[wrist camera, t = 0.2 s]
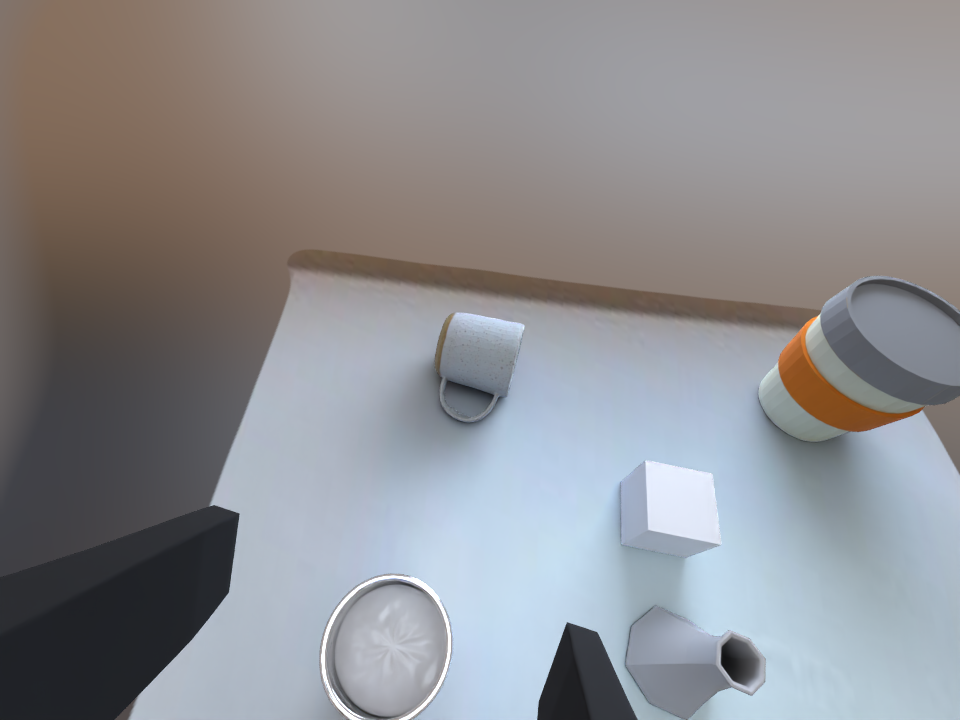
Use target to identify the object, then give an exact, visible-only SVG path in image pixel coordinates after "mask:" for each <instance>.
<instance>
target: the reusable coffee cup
mask: <svg viewBox="0 0 960 720" xmlns="http://www.w3.org/2000/svg"><path fill="white" fill-rule="evenodd" d="M758 395H759V401H760V403H761V406H762V408H763V410H764V411H765V413H766V415H767V416H768V417H769V418H770V420H771V421H772V422H773V423H774V424H775V425H776V426H777V427H779V428H780V429H781V430H783V431H784V432H785V433H787V434H789V435H791V436H793V437H795V438H798V439H800V440H804V441H808V442H820V441H825V440H827V439H830V438H833V437H836V436H839V435H842V434H845V433H848V432H851V431H853V432H861V431H867V430H871V429H874V428H877V427H880V426H883V425H886V424H889V423H892V422H895V421H898V420H901V419H904V418H907V417H910V416H913V415H915V414H917V413H919V412H920V411H921V410H922V409H923V408H924V407H925V406H927V405H938V404H945V403H947V402H949V401H951V400H953V399H955V398H957V397H958V396H960V311H959V310H958V309H957V308H956V307H954V306H953V305H952V304H950V303H949V302H947V301H946V300H944V299H943V298H941V297H940V296H938V295H936V294H935V293H933V292H931V291H929V290H927V289H925V288H923V287H921V286H918V285H916V284H914V283H911V282H908V281H905V280H902V279H898V278H893V277H887V276H869V277H865V278H862V279H858V280H857V281H856V282H854V283H853V284H851V285H850V286H848V287H847V288H845V289H844V290H843V291H841V292H840V293H838V294H837V295H835V296H834V297H832V298H831V299H830V300H828V301H827V302H826V303H825V305H824V306H823V308H822V311H821V314H820V315H819V316H817V317H814V318H812V319H811V320H810V321H808V322H807V323H806V324H805V325H804V327H803V328H802V329H801V330H800V331H799V332H798V334H797V335H796V336H795V337H794V338H793V339H792V340H791V342H790V343H789V344H788V345H787V346H786V347H785V349H784V350H783V351H782V353H781V354H780V357H779V360H778V363H777V364H776V365H775V366H774V367H773V368H772V370H771V371H770V372H769V373H768V374H767V375H766V376H765V378H764V379H763V380H762V381H761V383H760V386H759V391H758Z"/></svg>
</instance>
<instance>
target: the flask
mask: <svg viewBox="0 0 960 720" xmlns="http://www.w3.org/2000/svg"><path fill="white" fill-rule="evenodd" d="M765 662H766V659H765V657H764V656H763V655H762V654H761V652H760V651H759V650H758V648H757V647H756V646H755V645H754V643H753V642H752V641H751V639H750V638H747V637H745V636H743V635H740V634H738V633H736V632H733V631H731V630H728V631H726V632H725V633H724V634H723V635H722V636H712V635H710V634H708V633H707V632H705V631H703V630H702V629H701V628H700V627H698V626H697V625H696V624H694V623H693V622H691V621H690V620H688V619H686V618H683V617H681V616H679V615H677V614H674V613H672V612H670V611H667V610H665V609H663V608H660V607H658V606H655V607H653V608H652V609H651V610H650V611H649V612H648V613H646V614H645V615H644V616H643V617H642V618H640V619H639V620H638V621H637V622H636V623H635V624H633V625H632V627H631V633H630V639H629V645H628V651H627V657H626V663H625V665H626V667H627V668H628V670H629V672H630V673H631V675H632V676H633V678H634V679H635V681H636V682H637V684H638V686H639V687H640V689H641V690H642V692H643V693H644V695H645V696H646V698H647V700H648V701H649V703H650V704H652V705H655V706H657V707H659V708H661V709H663V710H665V711H668V712H670V713H672V714H674V715H676V716H678V717H681V718H683V719H685V720H688V719H689V718H690V717H691V716H692V715H693V714H694V713H695V712H696V711H697V710H698V709H699V708H700V707H701V706H702V705H703V704H704V703H705V702H706V701H708V700H709V699H710V698H711V697H712V696H714V695H715V694H716V693H717V692H718V691H722V690H725V689H728V688H731V687H732V688H735V689H737V690H739V691H741V692H744V693H746V694H748V695H753V694H754V693H755V692H756V691H757V690H758V689H759V688H760V687H761V686H762V685H763V684H764V683H765Z"/></svg>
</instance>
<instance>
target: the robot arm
mask: <svg viewBox="0 0 960 720" xmlns="http://www.w3.org/2000/svg"><path fill="white" fill-rule="evenodd" d="M238 521H239V513H236V512H233V511H230V510H227V509H224V508H221V507H218V506H215V505H213V506H210V507H207V508H203V509H200V510H197V511H194V512H191V513H189V514H186V515H183V516H180V517H177V518H174V519H172V520H169V521H166V522H163V523H160V524H158V525H155V526H152V527H149V528H147V529H144V530H141V531H138V532H136V533H133V534H130V535H127V536H124V537H121V538H118V539H116V540H113V541H110V542H107V543H104V544H101V545H99V546H96V547H93V548H90V549H87V550H84V551H81V552H78V553H75V554H72V555H69V556H66V557H62V558H59V559H56V560H53V561H50V562H47V563H44V564H41V565H38V566H35V567H31V568H28V569H25V570H22V571H19V572H16V573H13V574H10V575H6V576H3V577H0V720H115V718H117V716H118V715H119V714H120V713H121V712H122V711H123V710H124V709H125V708H126V707H127V706H128V705H129V704H130V703H131V702H132V701H133V700H134V699H135V698H136V697H137V696H138V695H139V694H140V693H141V692H142V691H143V690H144V689H145V688H146V687H147V686H148V685H149V684H150V683H151V682H152V681H153V680H154V679H155V678H156V676H157V675H158V674H159V673H160V672H161V671H162V670H163V669H164V668H165V667H166V666H167V665H168V664H169V663H170V662H171V661H172V660H173V659H174V658H175V657H176V656H177V655H178V654H179V653H180V652H181V650H182V649H183V648H184V647H185V646H186V645H187V644H188V643H189V642H190V641H191V640H192V639H193V637H194V636H195V635H196V634H197V633H198V631H199V630H200V629H201V628H202V626H203V625H204V624H205V623H206V621H207V620H208V619H209V618H210V616H211V615H212V614H213V612H214V611H215V610H216V609H217V607H218V606H219V605H220V603H221V602H222V601H223V599H224V598H225V597H226V595H227V594H228V593H229V587H230V580H231V573H232V565H233V558H234V551H235V543H236V536H237V528H238ZM537 720H637V718H636V716H635V714H634V711H633V709H632V707H631V705H630V703H629V701H628V699H627V696H626V694H625V692H624V690H623V688H622V686H621V683H620V681H619V679H618V677H617V675H616V672H615V670H614V668H613V666H612V663H611V661H610V659H609V657H608V654H607V652H606V650H605V648H604V645H603V643H602V641H601V639H600V637H599V635H598V633H597V632H595V631H592V630H589V629H586V628H583V627H580V626H577V625H574V624H571V623H568V622H567V624H566V627H565V629H564V632H563V635H562V638H561V641H560V643H559V646H558V649H557V652H556V655H555V658H554V660H553V663H552V666H551V669H550V672H549V674H548V677H547V680H546V683H545V686H544V688H543V691H542V694H541V697H540V700H539V707H538V718H537Z"/></svg>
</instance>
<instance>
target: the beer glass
mask: <svg viewBox="0 0 960 720" xmlns="http://www.w3.org/2000/svg"><path fill="white" fill-rule="evenodd" d="M452 655H453V632H452V626H451V622H450V619H449V616H448V613H447V611H446V609H445V607H444V605H443V603H442V601H441V600H440V598H439V597H438V596H437V594H436V593H435V592H434V591H433V590H432V589H431V588H430V587H429V586H428V585H426V584H425V583H423V582H422V581H420V580H418V579H416V578H414V577H411V576H408V575H404V574H383V575H379V576H375V577H372V578H370V579H368V580H366V581H364V582H362V583H360V584H359V585H357V586H356V587H354V588H353V589H352V590H351V591H350V592H348V593H347V594H346V595H345V596H344V597H343V599H342V600H341V601H340V602H339V603H338V605H337V606H336V608H335V609H334V611H333V612H332V614H331V616H330V618H329V620H328V622H327V625H326V627H325V630H324V633H323V637H322V641H321V646H320V656H319V664H320V674H321V679H322V683H323V686H324V689H325V692H326V694H327V696H328V698H329V700H330V702H331V703H332V705H333V706H334V707H335V709H336V710H337V711H338V712H339V713H340V714H341V715H342V716H343V717H344V718H346V719H347V720H412V719H413V718H415V717H416V716H418V715H419V714H420V713H421V712H422V711H424V710H425V709H426V708H427V707H428V706H429V704H430V703H431V702H432V701H433V700H434V698H435V697H436V696H437V694H438V693H439V691H440V690H441V688H442V686H443V684H444V682H445V680H446V678H447V675H448V672H449V669H450V666H451V661H452Z"/></svg>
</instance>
